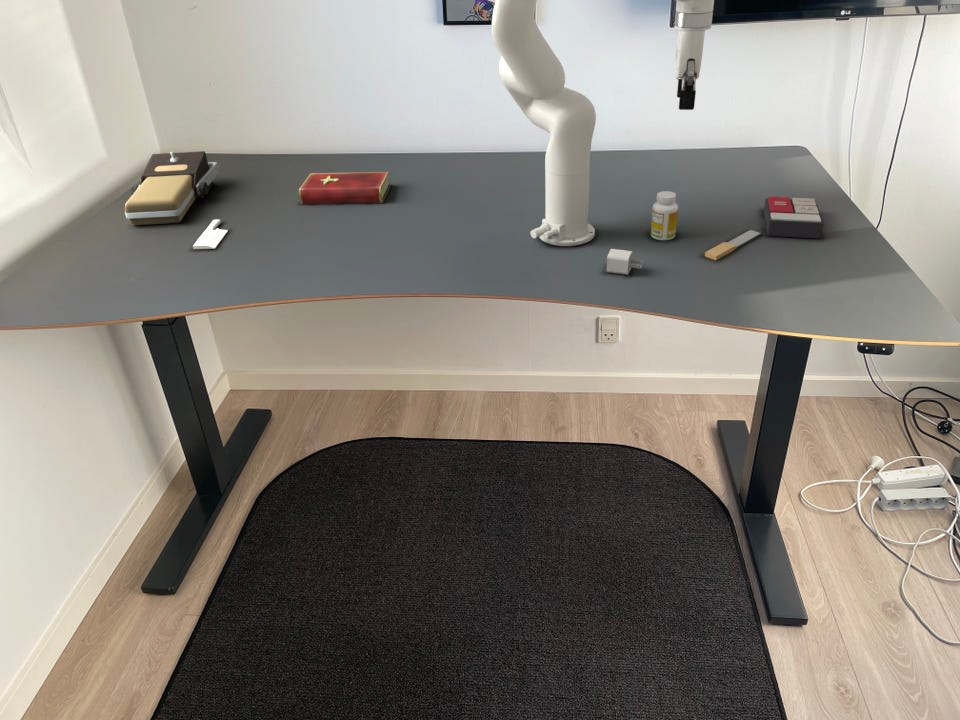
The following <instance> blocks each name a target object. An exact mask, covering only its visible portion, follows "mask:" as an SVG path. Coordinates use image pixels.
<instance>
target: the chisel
mask: <svg viewBox="0 0 960 720" xmlns="http://www.w3.org/2000/svg"><path fill="white" fill-rule="evenodd" d="M761 236H762V233H761V232H759V231H756V230H752V229H749V230H747V231H746V232H744V233H741V234H740V235H738V236H736V237H734V238H733V239H731V240H729V241H728V242H726V241H723V242H721V243H719V244H718V245H716V246H714V247H712V248H710V249H708V250H706V251H705V252H704V257H705V258H708V259H711V260H714V261H717V260H720V259H721V258H724V256H725V257H726V256H727V255H728V254H730V253H732V252H734V251H736V250H737V249H738V248H740V247H742V246H744V245H746V244H747V243H749V242H752V241H753V240H755V239H757V238H758V237H761Z"/></svg>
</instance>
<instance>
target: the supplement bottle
mask: <svg viewBox="0 0 960 720" xmlns="http://www.w3.org/2000/svg"><path fill="white" fill-rule="evenodd" d="M676 197H677V194H676V192H674V191H671V190H670V191H669V190H663V191H662V190H661V191H659V192H657V194H656V201H655V202H654V203H653V205H652V211H651V214H652V215H651V224H650V225H651V226H650V236H651V238H653V239H654V240H658V241H670V240H673V239H674V238H675V237H676V235H677V234H676V232H677V225H678V223H677V222H678V214H679V206H678V204H677V202H676V199H677V198H676Z"/></svg>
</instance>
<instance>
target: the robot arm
mask: <svg viewBox="0 0 960 720" xmlns="http://www.w3.org/2000/svg"><path fill="white" fill-rule="evenodd" d="M487 1H488V2H491V3H494V5H493V10H492V17H491V37H492V42H493V43H494V45H495V48H496V49H497V51H498V52H499V54H500V55H501V56H500V59H499V64H498V73H499V77H500V80H501V83H502V85H503V86H504V88H505V89H506V91H507V92H508V94H509V95H510V97H511V98H512V99H513V101H514V102H515V103H516V105H517V106H518V107H519V109H520V110H521V112H522V113H523V114H524V115H525V117H526V118H527V119H528V120H529V121H530V122H531V123H532V124H533V125H534V126H536V127H538V128H539V129H542V130H543V131H546V132H547V133H549V134H550V138H549V142H548V144H547V147H546V150H545V156H544V161H545V162H544V169H545V172H544V173H545V174H544V175H545V176H544V177H545V178H544V179H545V180H544V181H545V186H544V187H545V188H544V190H545V191H544V193H545V198H544V199H545V202H544V204H545V206H544V207H545V210H544V211H545V213H544V217H545V218H542V220H541V224H540V225H539V227H536V228H534V229H532V230H530V232H529V234H530V237H531V238H532V239H537V238H539V239H540V240H541V241H542V242H544V243H546V244H549V245H552V246H558V247H574V246H575V247H576V246H580V245H583V244H586V243H589V242H590V241H592V240H593V239H594V238H595V235H596V229H595V228H594V226H593V225H592V224H590V223H589V207H590V176H591V174H590V173H591V149H592V140H593V136H594V131H595V127H596V122H597V112H596V109H595V106H594V104H593V103H592V101H591V100H590V99H589V98H588V97H587V96H586V95H584V94H582V93H581V92H578V91H577V90H573V89H571V88H568V87H565V84H566V73H565V69H564V67H563V64H562V62H561V61H560V59H559V58H558V56H557V55H556V53H554V50H553V49H552V47H551V46H550V44H548V43H549V42H548V41H547V40H546V39H545V37H544V35H543V34H542V32H541V30H540V29H539V26H538V25H537V22H536V17H535V14H536V7H537V2H538V0H487ZM675 2H676V5H675V15H674V16H675V17H674V29H675V30H678V35H677V39H676V41H677V42H676V50H675V51H676V52H675V59H674V60H675V61H674V70H673V72H674V77H675V79H676V80H677V89H676V90H677V91H676V98H678V99H679V101H678V110H680V111H693V110H695V102H696V93H697V90H696V84H697V80H698V79H699V78H700V74H701V73H700V72H701V67H702V60H703V54H704V45H705V37H706V36H705V33H706V31H708V30H710V29H712V23H713V15H714V14H713V13H714V5H715V0H675Z"/></svg>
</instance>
